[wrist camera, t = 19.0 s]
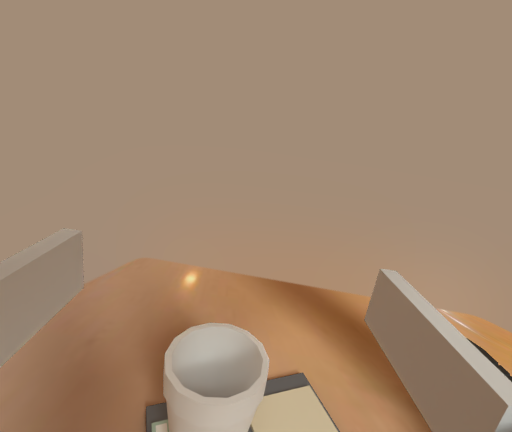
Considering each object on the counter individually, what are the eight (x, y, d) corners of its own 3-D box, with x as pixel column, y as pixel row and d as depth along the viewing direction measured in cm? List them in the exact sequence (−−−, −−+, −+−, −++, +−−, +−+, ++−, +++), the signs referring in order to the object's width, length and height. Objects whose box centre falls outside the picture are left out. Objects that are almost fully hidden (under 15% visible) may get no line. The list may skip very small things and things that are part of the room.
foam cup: (260, 501, 27) (285, 395, 23) (155, 532, 24) (165, 416, 20) (236, 407, 35) (251, 319, 31) (157, 421, 32) (164, 325, 28)
